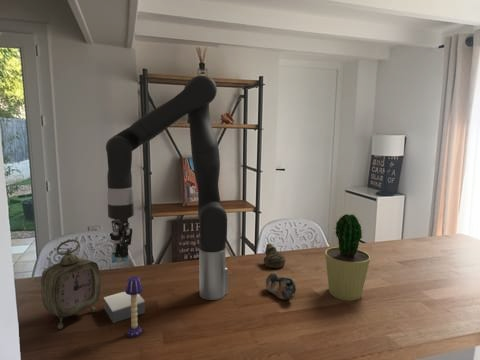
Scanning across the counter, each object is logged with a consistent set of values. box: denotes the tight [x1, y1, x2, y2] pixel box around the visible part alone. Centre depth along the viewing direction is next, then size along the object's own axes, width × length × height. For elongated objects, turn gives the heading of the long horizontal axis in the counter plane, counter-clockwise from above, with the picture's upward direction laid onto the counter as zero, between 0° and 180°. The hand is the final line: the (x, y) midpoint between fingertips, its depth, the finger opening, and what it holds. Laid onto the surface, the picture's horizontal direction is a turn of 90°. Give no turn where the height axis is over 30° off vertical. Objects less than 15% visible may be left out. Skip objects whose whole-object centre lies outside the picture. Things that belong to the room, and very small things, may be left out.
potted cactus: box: [324, 212, 371, 302], centre depth 118 cm, size 15×15×30 cm
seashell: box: [263, 243, 286, 269], centre depth 143 cm, size 11×12×10 cm
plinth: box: [103, 291, 146, 324], centre depth 106 cm, size 10×10×4 cm
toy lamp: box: [124, 275, 144, 338], centre depth 93 cm, size 5×5×17 cm
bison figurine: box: [265, 272, 297, 301], centre depth 117 cm, size 12×7×10 cm
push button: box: [109, 229, 134, 264], centre depth 103 cm, size 7×5×10 cm
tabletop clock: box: [40, 239, 101, 330], centre depth 100 cm, size 14×9×25 cm, turn 148°
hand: (122, 254), depth 104 cm, fingers closed on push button, 3 cm apart
